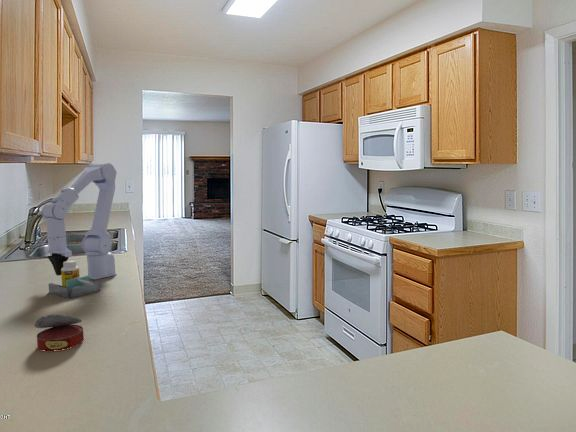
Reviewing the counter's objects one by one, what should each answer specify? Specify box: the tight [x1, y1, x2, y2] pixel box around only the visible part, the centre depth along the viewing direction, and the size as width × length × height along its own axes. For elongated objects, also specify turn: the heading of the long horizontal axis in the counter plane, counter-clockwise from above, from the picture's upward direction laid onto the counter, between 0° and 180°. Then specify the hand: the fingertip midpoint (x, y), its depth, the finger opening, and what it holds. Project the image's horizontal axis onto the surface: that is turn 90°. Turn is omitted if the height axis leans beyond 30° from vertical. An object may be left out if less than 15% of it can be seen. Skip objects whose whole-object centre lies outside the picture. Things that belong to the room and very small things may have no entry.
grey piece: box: [48, 279, 101, 299], centre depth 151 cm, size 11×14×3 cm
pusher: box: [66, 274, 93, 288], centre depth 147 cm, size 8×9×5 cm
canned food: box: [34, 314, 85, 351], centre depth 105 cm, size 11×10×10 cm
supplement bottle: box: [60, 260, 81, 287], centre depth 152 cm, size 6×6×10 cm
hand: (60, 274), depth 157 cm, fingers closed
